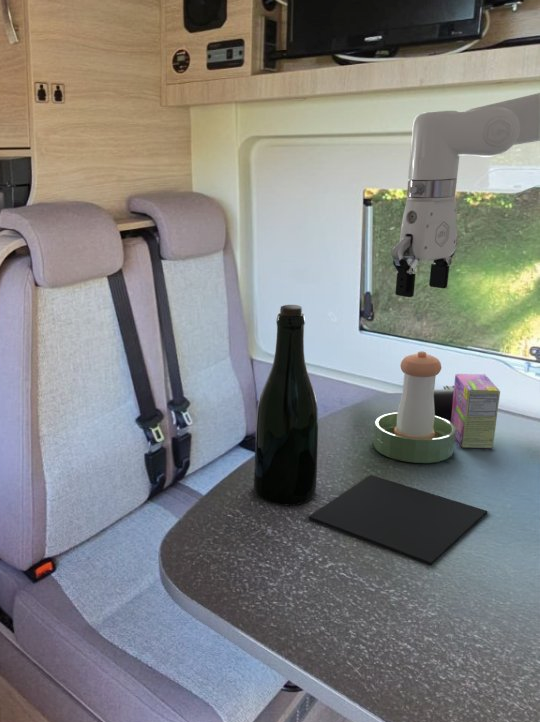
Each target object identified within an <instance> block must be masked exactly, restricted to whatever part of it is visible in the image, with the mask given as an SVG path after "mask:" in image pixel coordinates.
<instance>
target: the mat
mask: <svg viewBox="0 0 540 722" xmlns="http://www.w3.org/2000/svg"><path fill="white" fill-rule="evenodd" d="M487 514H488V510H487V509H482V508H479V507H476V506H473V505H470V504H466V503H463V502H460V501H457V500H454V499H450V498H447V497H444V496H440V495H438V494H434V493H431V492H427V491H424V490H422V489H419V488H418V489H417V488H415V487H412V486H409V485H405V484H403V483H399V482H396V481H392V480H389V479H386V478H383V477H380V476H376V475H373V474H370V475H368V476H367V477H366V478H364V479H363V480H361V481H359V482H358V483H357V484H355V485H354V486H352V487H351V488H349V489H348V490H346V491H344V492H343V493H341V494H340V495H339V496H337V497H335V498H334V499H332V500H331V501H329V502H328V503H326V504H325V505H324V506H322V507H320V508H319V509H317V510H316V511H315V512H313V513H312V514H310V515H309V516H308V519H309V520H311V521H313V522H316V523H319V524H322V525H324V526H326V527H329V528H332V529H333V530H337V531H340V532H342V533H345V534H347V535H351V536H353V537H356V538H358V539H361V540H362V541H366V542H368V543H371V544H374V545H376V546H379V547H381V548H384V549H387V550H389V551H392V552H395V553H398V554H400V555H403V556H405V557H408V558H410V559H413V560H416V561H418V562H421V563H424V564H426V565H429V566H432V565H433V564H434V563H435V562H436V561H438V560H439V559H440V558H441V557H442V556H443V555H444V554H445V553H446V552H447V551H448V550H449V549H450V548H451V547H453V546H454V545H455V544H456V543H458V541H459V540H460V539H462V537H463V536H465V534H467V533H468V532H469V531H470V530H471V529H472V528H473V527H475V525H477V524H478V523H479V522H480V521H481V520H482V519H483V518H484V517H485V516H486V515H487Z"/></svg>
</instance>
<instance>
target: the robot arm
mask: <svg viewBox="0 0 540 722" xmlns="http://www.w3.org/2000/svg"><path fill="white" fill-rule="evenodd" d="M412 123H413V124H412V131H411V142H410V156H409V166H408V178H407V187H406V188H407V190H406V201H405V206H404V210H403V214H402V219H401V220H402V221H401V227H400V232H399V233H400V234H399V242H398V243H397V244H396V245H395V246H394V247H393V248H392V249H391V256H392V260H393V261H392V264H393V266H394V268H395V269H394V271H395V273H396V280H395V281H396V282H395V295H396V296H399V297H405V298H412V297H414V294H415V284H416V273H415V270H416V267H417V266H418V264H419V262H423V263H424V262H431V261H432V262H433V263H431V264H430V273H429V274H430V275H429V283H428V286H429V287H430V288H437V289H447V288H448V284H449V283H448V282H449V274H450V266H451V265H452V262H453V259H452V258H453V256H454V255H455V253H456V247H457V246H458V245H457V244H458V242H459V237H458V236H457V229H458V228H457V227H458V206H457V205H458V204H457V198H456V193H457V192H456V191H457V183H458V171H459V165H460V156H473V157H480V158H481V157H482V158H490V157H497V156H500V155H501V154H503V153H504V154H505V152H507V151H509V150H510V149H511V148H512V147H513V146H517V145H522V144H529V143H535V142H540V92H538V93H537V92H536V93H533V94H529V95H525V96H521V97H517V98H513V99H508V100H504V101H499V102H495V103H491V104H487V105H482V106H477V107H474V108H470V109H468V110H465V111H457V110H436V111H425V112H421V113H418V114H417V115H416V116H415V117H414V119H413V122H412ZM408 262H409V263H408Z"/></svg>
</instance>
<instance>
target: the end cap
mask: <svg viewBox="0 0 540 722" xmlns="http://www.w3.org/2000/svg"><path fill="white" fill-rule="evenodd" d="M453 394H454V385H444V386H443V389H434V409H435V416H438V417H440V418H443V419H446V420H448V421H451V415H452V405H453Z"/></svg>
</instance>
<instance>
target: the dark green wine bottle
mask: <svg viewBox="0 0 540 722" xmlns="http://www.w3.org/2000/svg"><path fill="white" fill-rule="evenodd" d="M275 321H276V323H275V324H276V342H275V350H274V351H275V352H274V356H273V362H272V366H271V369H270V371H269V374H268V376H267V379H266V381H265V383H264V385H263V388H262V389H261V390H262V391H261V393H260V395H259V400H258V404H257V409H256V410H257V411H256V421H255V422H256V424H255V441H254V443H255V444H254V468H253V469H254V470H253V471H254V472H253V473H254V474H253V488H254V491H255V494H256V495H257V496H258V497H259V498H261V499H262V500H264V501H266V502H269V503H271V504H276V505H282V506H294V505H295V506H296V505H301V504H303V503H307V502H308V501H310V500H312V499H313V498H314V497H315V495H316V492H317V480H318V479H317V478H318V456H319V455H318V454H319V452H318V451H319V450H318V449H319V406H318V399H317V396H316V392H315V390H314V386H313V384H312V382H311V378H310V375H309V372H308V369H307V364H306V359H305V340H304V339H305V324H306V317H305V314H304V313H303V307H302V306H300V305H298V304H285V305H282V306H280V309H279V313H278V314H277V317H276V319H275Z"/></svg>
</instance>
